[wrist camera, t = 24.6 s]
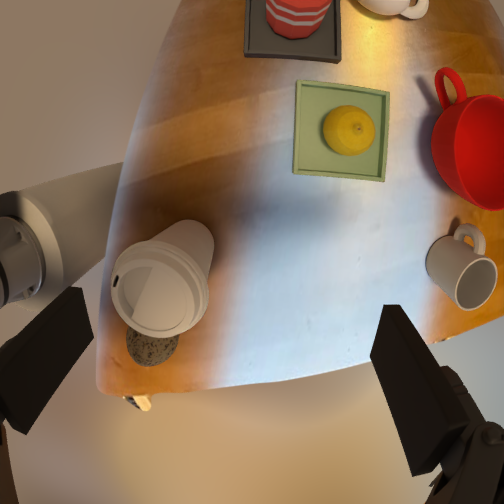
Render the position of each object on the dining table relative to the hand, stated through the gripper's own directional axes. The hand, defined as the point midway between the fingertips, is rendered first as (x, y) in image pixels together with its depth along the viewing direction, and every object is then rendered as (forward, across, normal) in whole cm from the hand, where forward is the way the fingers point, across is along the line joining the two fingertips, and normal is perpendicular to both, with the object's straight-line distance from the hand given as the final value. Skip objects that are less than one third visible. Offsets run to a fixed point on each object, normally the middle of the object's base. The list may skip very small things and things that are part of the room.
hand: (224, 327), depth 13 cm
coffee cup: (+27, -8, -6) cm, 29 cm away
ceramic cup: (+27, +25, +11) cm, 38 cm away
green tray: (+27, +10, +9) cm, 30 cm away
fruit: (+26, +10, +9) cm, 30 cm away
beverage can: (+26, +4, +23) cm, 35 cm away
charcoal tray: (+27, +4, +23) cm, 35 cm away
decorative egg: (+27, -13, -18) cm, 35 cm away
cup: (+27, +28, -5) cm, 39 cm away
